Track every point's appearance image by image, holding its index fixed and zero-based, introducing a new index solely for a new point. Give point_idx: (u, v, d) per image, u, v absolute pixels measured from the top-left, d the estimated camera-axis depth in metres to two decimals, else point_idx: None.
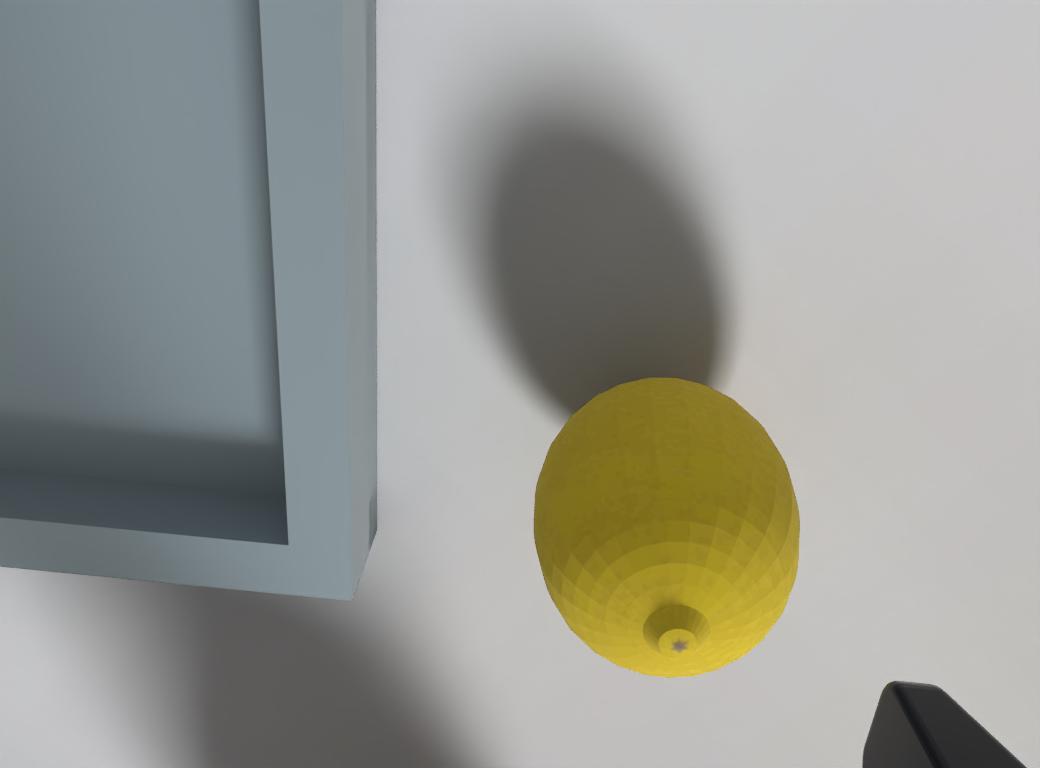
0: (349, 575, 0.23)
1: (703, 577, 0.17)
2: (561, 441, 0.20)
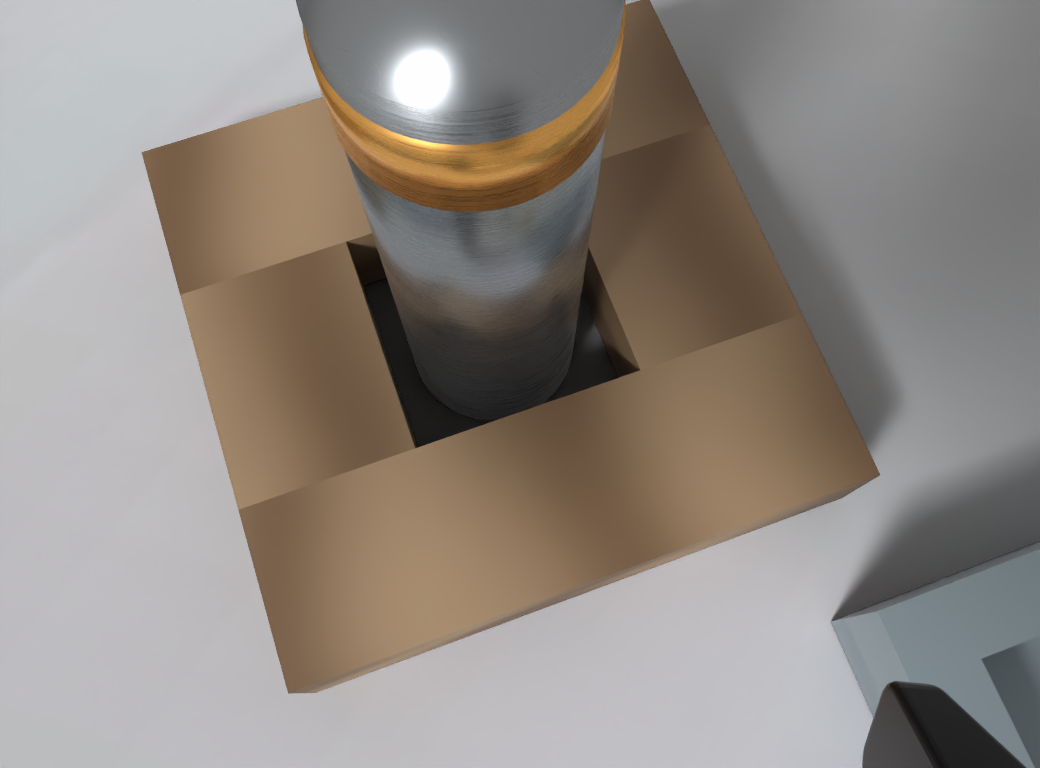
0: None
1: None
2: None
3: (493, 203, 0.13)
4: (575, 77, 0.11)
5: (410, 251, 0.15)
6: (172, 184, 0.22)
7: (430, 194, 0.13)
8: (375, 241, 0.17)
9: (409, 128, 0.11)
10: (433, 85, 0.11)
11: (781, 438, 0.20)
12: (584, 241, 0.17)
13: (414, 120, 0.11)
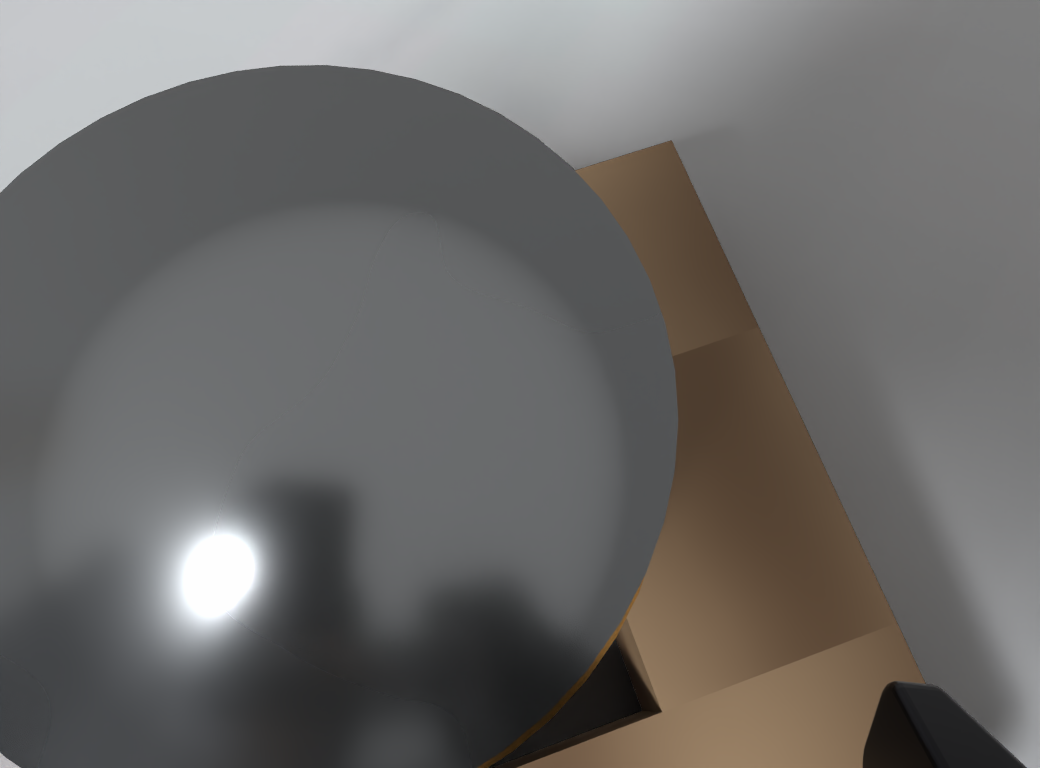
0: None
1: None
2: None
3: None
4: (550, 705, 0.04)
5: None
6: None
7: None
8: None
9: None
10: (186, 751, 0.04)
11: None
12: None
13: None
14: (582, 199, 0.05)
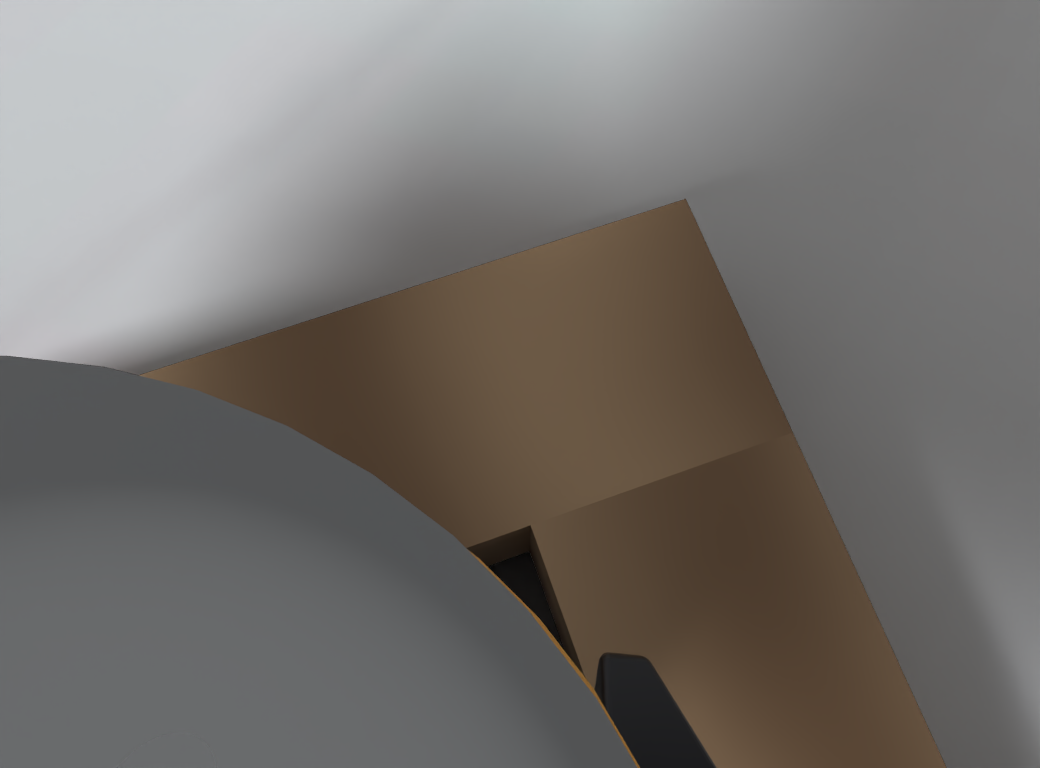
0: None
1: None
2: None
3: None
4: None
5: None
6: None
7: None
8: None
9: None
10: None
11: None
12: None
13: None
14: (549, 700, 0.02)
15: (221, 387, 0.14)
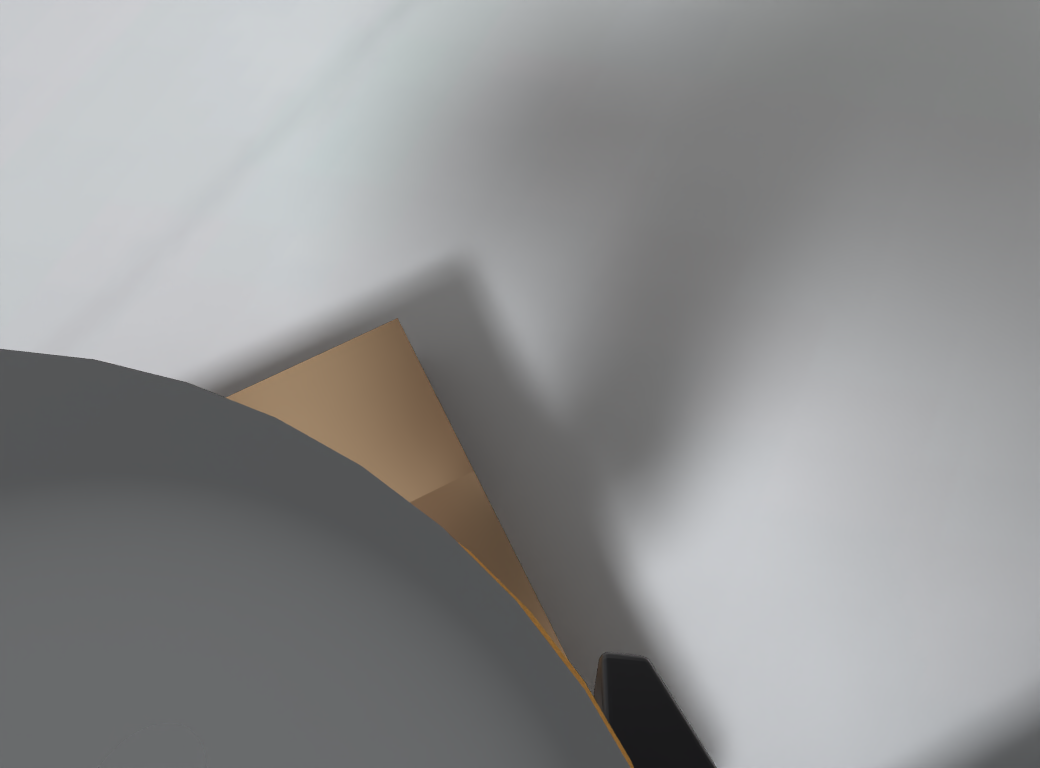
0: None
1: None
2: None
3: None
4: None
5: None
6: None
7: None
8: None
9: None
10: None
11: None
12: None
13: None
14: (536, 686, 0.02)
15: None
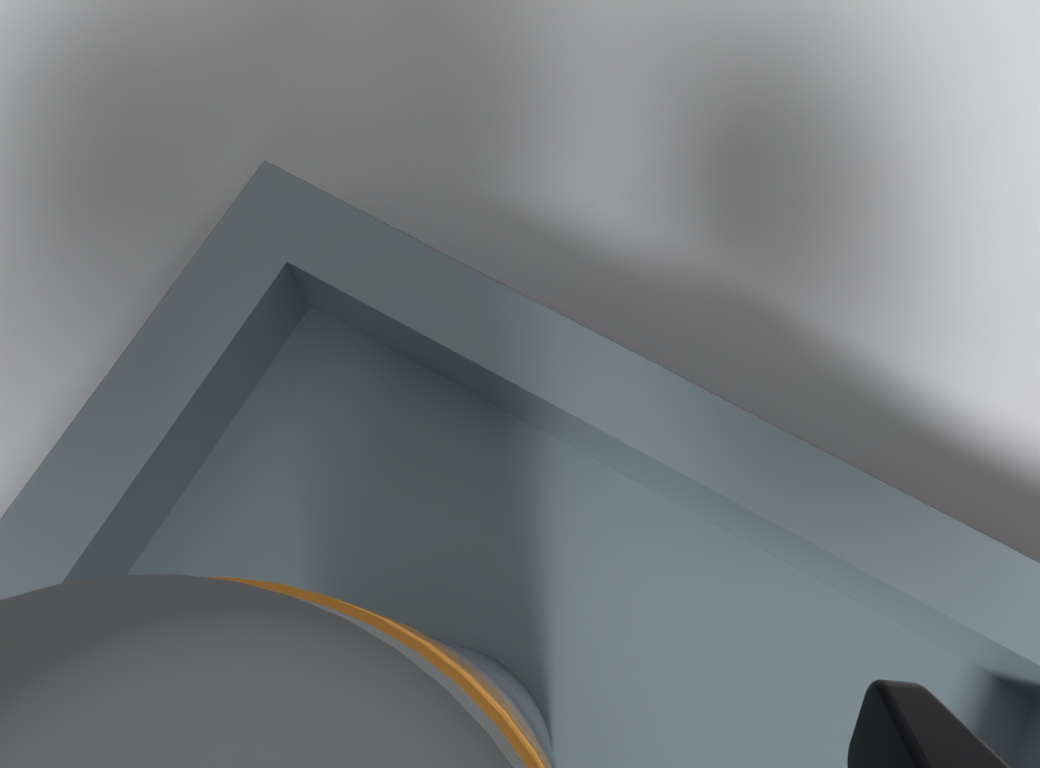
0: None
1: None
2: None
3: None
4: None
5: None
6: None
7: None
8: None
9: None
10: None
11: None
12: None
13: None
14: None
15: None
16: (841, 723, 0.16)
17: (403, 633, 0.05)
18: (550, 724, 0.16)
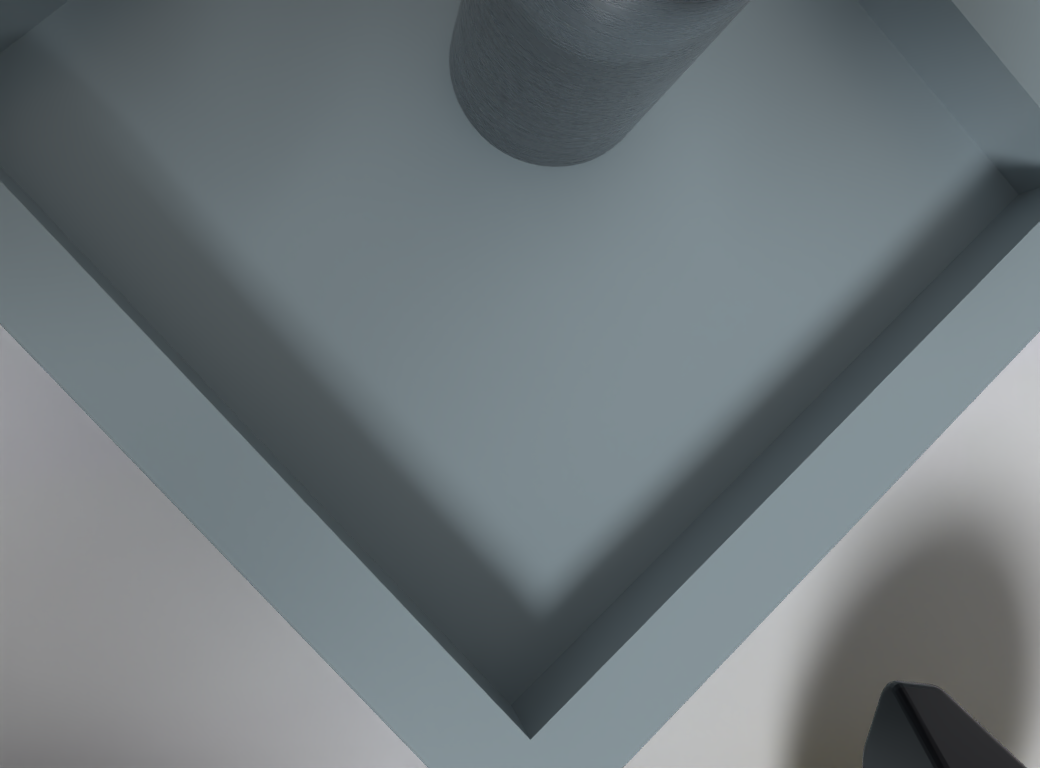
0: None
1: None
2: None
3: None
4: None
5: None
6: None
7: None
8: None
9: None
10: None
11: None
12: None
13: None
14: None
15: None
16: (873, 157, 0.20)
17: None
18: None
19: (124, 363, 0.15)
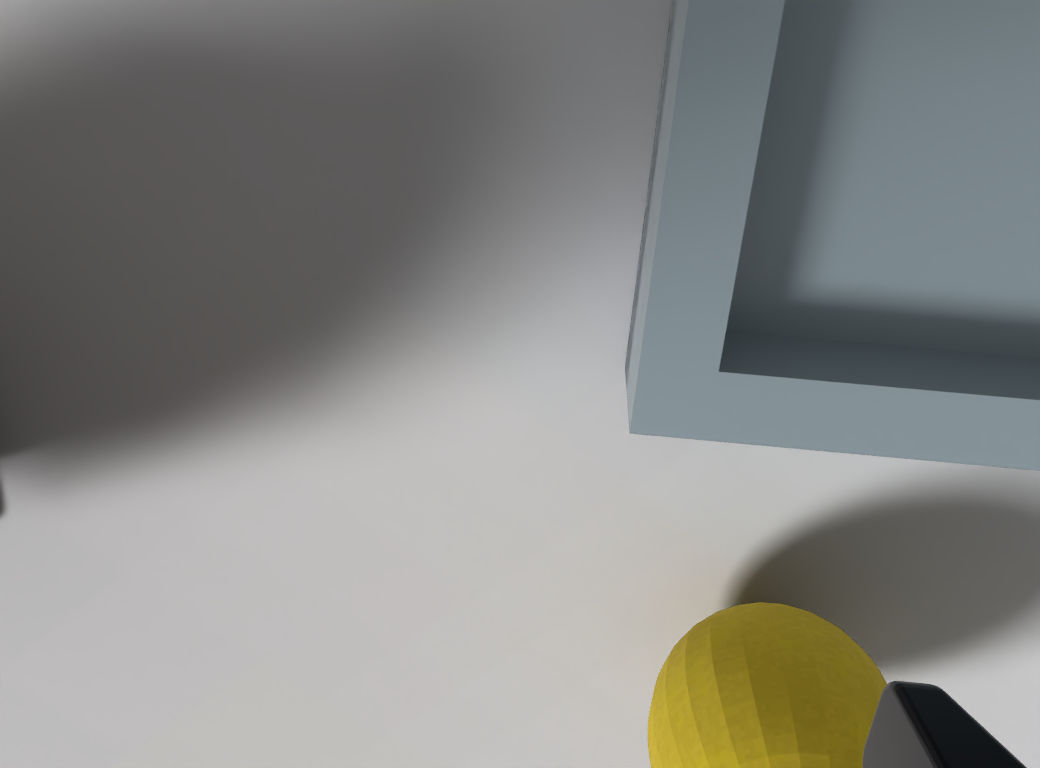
0: (670, 435, 0.19)
1: None
2: (867, 670, 0.20)
3: None
4: None
5: None
6: None
7: None
8: None
9: None
10: None
11: None
12: None
13: None
14: None
15: None
16: None
17: None
18: None
19: None
